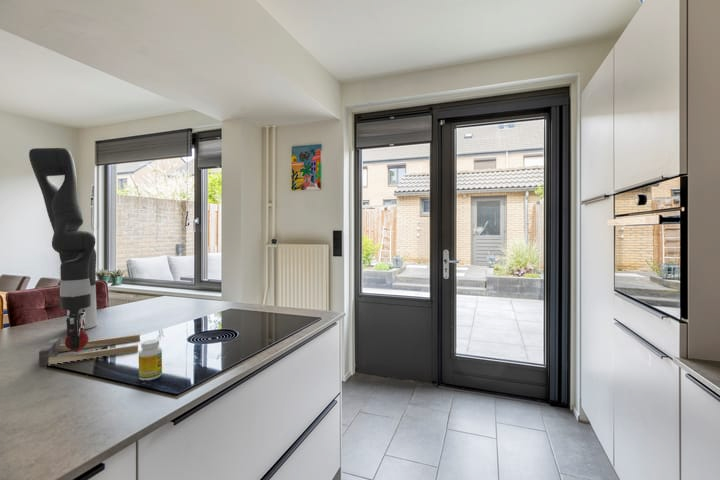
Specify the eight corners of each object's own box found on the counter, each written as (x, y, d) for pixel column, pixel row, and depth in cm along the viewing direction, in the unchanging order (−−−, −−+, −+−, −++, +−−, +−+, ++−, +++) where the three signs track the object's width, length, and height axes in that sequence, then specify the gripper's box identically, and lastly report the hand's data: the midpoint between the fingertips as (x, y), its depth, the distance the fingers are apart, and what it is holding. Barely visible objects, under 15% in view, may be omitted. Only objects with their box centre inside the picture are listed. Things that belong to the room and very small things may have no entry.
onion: (93, 348, 111) (92, 324, 111) (77, 355, 105) (76, 329, 105) (77, 348, 111) (76, 324, 111) (60, 354, 106) (59, 329, 105)
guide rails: (52, 351, 110) (52, 338, 110) (139, 339, 123) (139, 327, 123) (39, 366, 98) (38, 351, 98) (137, 351, 110) (137, 337, 110)
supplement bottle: (140, 374, 92) (139, 340, 92) (163, 371, 95) (162, 337, 95) (137, 382, 88) (136, 346, 87) (161, 378, 90) (160, 343, 90)
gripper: (65, 290, 112) (66, 341, 112) (54, 298, 100) (55, 354, 100) (93, 288, 116) (95, 337, 116) (86, 295, 103) (88, 349, 104)
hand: (76, 345), depth 108 cm, fingers closed on onion, 6 cm apart
